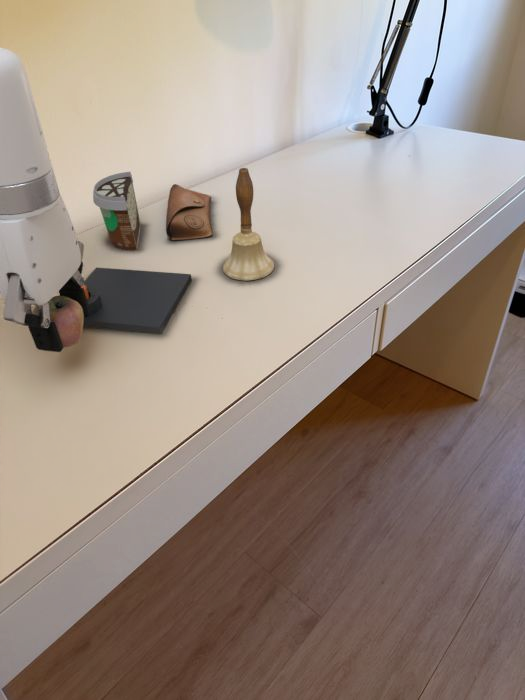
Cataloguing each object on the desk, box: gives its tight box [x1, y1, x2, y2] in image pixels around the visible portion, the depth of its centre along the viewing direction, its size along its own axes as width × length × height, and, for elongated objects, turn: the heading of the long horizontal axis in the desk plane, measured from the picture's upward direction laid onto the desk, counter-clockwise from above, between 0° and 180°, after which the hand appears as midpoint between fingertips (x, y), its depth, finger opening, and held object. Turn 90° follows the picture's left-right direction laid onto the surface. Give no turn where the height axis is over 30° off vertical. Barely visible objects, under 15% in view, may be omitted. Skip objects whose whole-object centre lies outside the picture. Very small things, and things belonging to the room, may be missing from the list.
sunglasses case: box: [165, 183, 213, 241], centre depth 99 cm, size 18×7×7 cm
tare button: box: [81, 285, 89, 300], centre depth 74 cm, size 3×3×2 cm
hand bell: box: [222, 167, 275, 282], centre depth 80 cm, size 8×8×16 cm
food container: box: [92, 171, 142, 251], centre depth 92 cm, size 12×6×10 cm, turn 6°
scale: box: [83, 267, 193, 335], centre depth 78 cm, size 16×14×3 cm
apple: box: [32, 295, 84, 349], centre depth 63 cm, size 6×8×6 cm
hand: (64, 330), depth 64 cm, fingers closed on apple, 6 cm apart
